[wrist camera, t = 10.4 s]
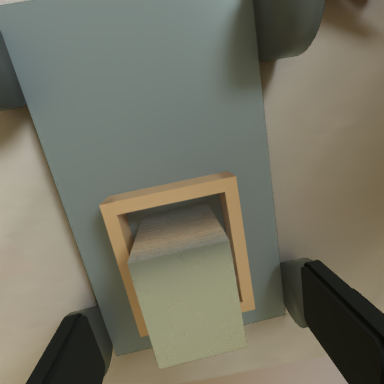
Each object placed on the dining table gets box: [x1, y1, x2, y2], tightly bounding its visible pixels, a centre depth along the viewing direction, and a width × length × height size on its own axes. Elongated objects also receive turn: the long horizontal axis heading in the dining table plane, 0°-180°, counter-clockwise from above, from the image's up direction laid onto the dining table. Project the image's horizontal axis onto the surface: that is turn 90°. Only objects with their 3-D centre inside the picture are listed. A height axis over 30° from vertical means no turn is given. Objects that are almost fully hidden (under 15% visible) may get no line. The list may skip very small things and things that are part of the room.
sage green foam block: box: [127, 202, 247, 369], centre depth 13 cm, size 6×4×6 cm
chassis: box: [0, 0, 325, 376], centre depth 14 cm, size 24×18×4 cm
